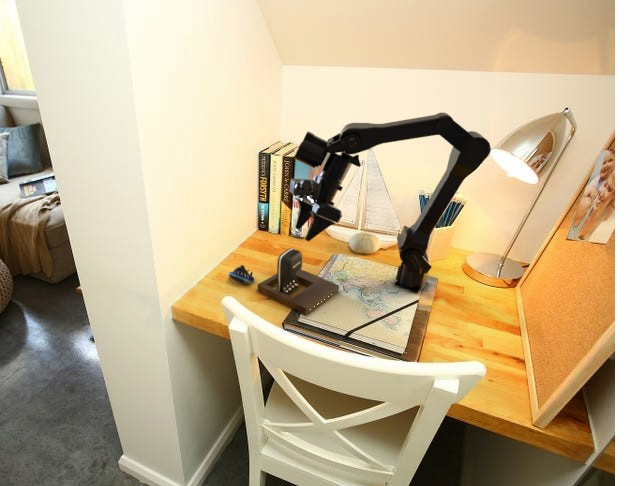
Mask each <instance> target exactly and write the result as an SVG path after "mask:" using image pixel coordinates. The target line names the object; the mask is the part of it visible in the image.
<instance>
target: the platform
mask: <svg viewBox="0 0 640 486" xmlns="http://www.w3.org/2000/svg"><path fill="white" fill-rule="evenodd" d="M296 279H297V282H298V285H301V286H303V287H306V288H304V289H303V290H301V291H300V292H299V293H297V294H295V295H294V296H291V295H286V294H284V293H282V292H280V291H278V290H277V288H274V287H275V286H277V273H275V274H273V275H271V276H270V277H268V278H266V279H265V280H263V281H261V282H259V283H257V292H258V293H259V294H261V295H264V296H266V297H267V298H270V299H272V300H274V301H276V302H278V303H280V304H282V305H284V306H286V307H287V308H290V309H291V310H293V311H295V312H298V313H299V314H302V315H303V316H305V317H307V316H308V315H309V314H311V313H313V311H315V310H316V309H317V308H319V307H320V306H322V305H323V304H324V303H326V302H327V301H328V300H330V299H332V298H333V297H335V296H336V295H337V294H338V293H339V292H340V291H339V290H340V285H339V284H337V283H334V282H332V281H329V280H327V279H325V278H323V277H320V276H318V275H316V274H314V273H310V272H308V271H306V270H304V269H302V268H301V269H300V270H298V271H297V272H296ZM338 289H339V290H338ZM331 294H332V295H331ZM328 296H329V297H328ZM324 299H325V300H324ZM321 301H322V302H321ZM318 303H319V304H318ZM317 304H318V305H317ZM314 306H315V307H314ZM310 309H311V310H310Z"/></svg>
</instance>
